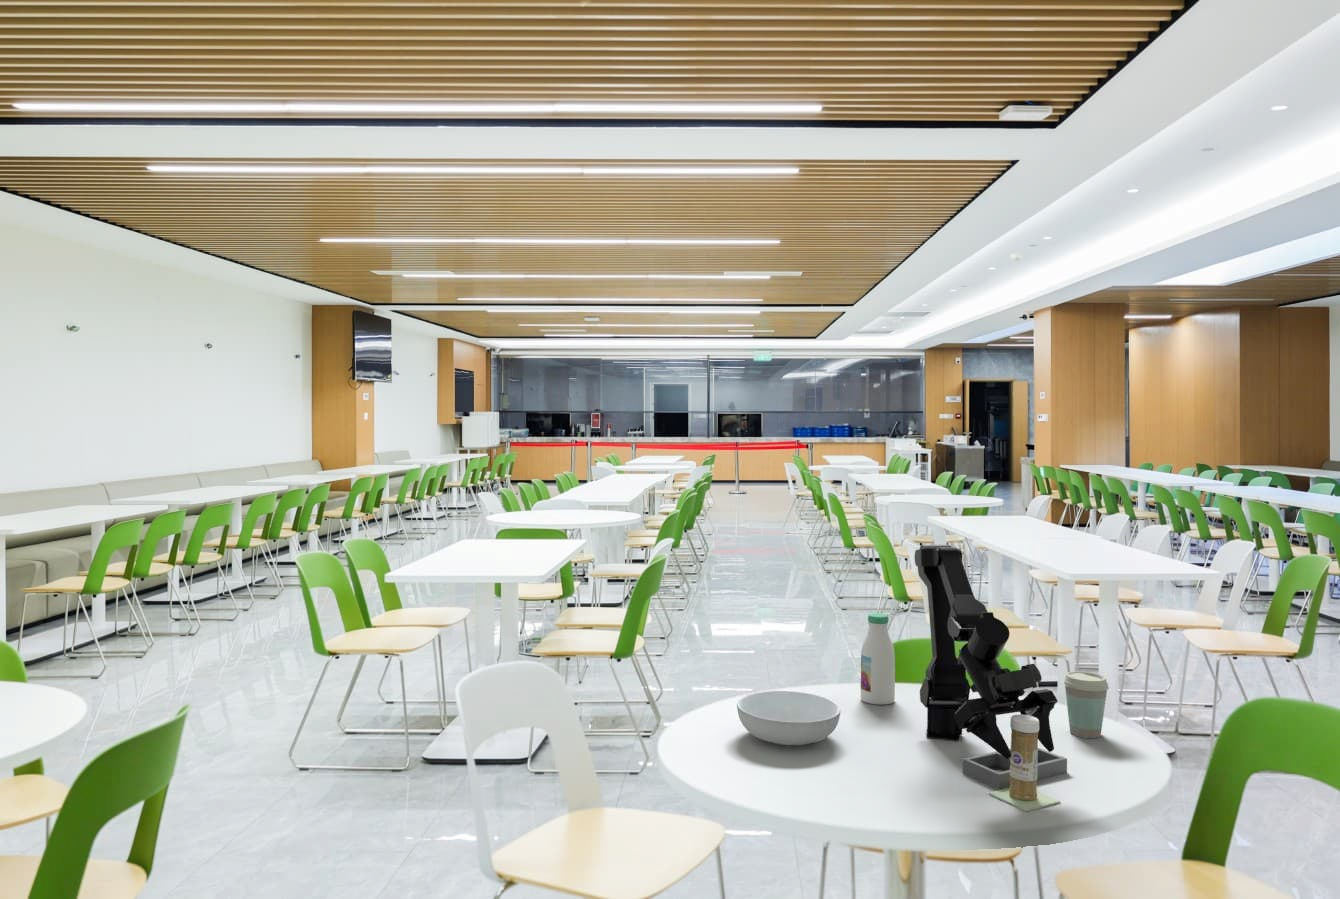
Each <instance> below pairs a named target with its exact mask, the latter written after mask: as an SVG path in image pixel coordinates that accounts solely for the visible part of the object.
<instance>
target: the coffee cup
mask: <svg viewBox="0 0 1340 899" xmlns="http://www.w3.org/2000/svg"><path fill="white" fill-rule="evenodd" d="M1063 685H1064V687H1065V697H1066V698H1065V699H1066V706H1067V707H1066V708H1067V715H1068V724H1069V732H1070V734H1071V733H1072V735H1073V736H1075V735H1076V736H1075V737H1078V736H1080V737H1079V738H1083V737H1086V738H1085V739H1097V738H1096V737H1098V738H1100V737H1101V736H1102V729H1103V722H1104V715H1105V710H1106V700H1107V692H1108V690H1109V689H1110V688H1109V683H1108V682H1107V678H1106V677H1105V675H1102V674H1099V673H1094V672H1090V671H1088V672H1087V671H1070V672H1067V673H1066V675H1065V678H1063Z"/></svg>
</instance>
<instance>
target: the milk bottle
mask: <svg viewBox="0 0 1340 899" xmlns="http://www.w3.org/2000/svg"><path fill="white" fill-rule="evenodd" d="M867 624H868V629H867V630H868V631H867V633H866V636H865V638H864V640H863V642H862V646H861V652H860V654H861V655H860V699H861V701H863V702H864V703H866V704H871V705H878V706H879V705H881V706H884V705H890V704H893V703H894V702H895V699H896V698H895V696H896V695H895V692H896V690H895V688H896V683H895V682H896V665H895V664H896V657H895V656H896V655H895V652H896V651H895V647H894V644H893V641H892V639H891V637H890V634H889V631H888V625H889V616H888V615H887V614H885V613H869V614H868V616H867Z"/></svg>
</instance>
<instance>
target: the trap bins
mask: <svg viewBox="0 0 1340 899" xmlns="http://www.w3.org/2000/svg"><path fill="white" fill-rule="evenodd" d="M1037 748H1038V768H1037V780H1040V779H1045V778H1049V777H1053V776H1058V775H1061V774H1065V773H1067V772H1068V758H1066V757H1063V756H1061V755H1058V754H1056V753H1053V752H1049V751H1048V750H1045V749H1043V748H1039V747H1037ZM1009 750H1010V753H1011V747H1010V748H1009ZM961 769H962V773H963V774H965V775H967V776H970V777H972V778H973V779H976V780H979V781H980V782H983V783H985V784H988V785H990V786H991V787H994V788H997V789H998V790H1001V789H1006V788H1010V758H1009V759H1006V758H1005V757H1003V756H1002V755H1001V754H1000V753H998V752H997V751H996V750H995V751H992V752H987V753H983V754H980V755H978V754H977V755H974V756H970V757H965V758H962V768H961Z"/></svg>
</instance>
